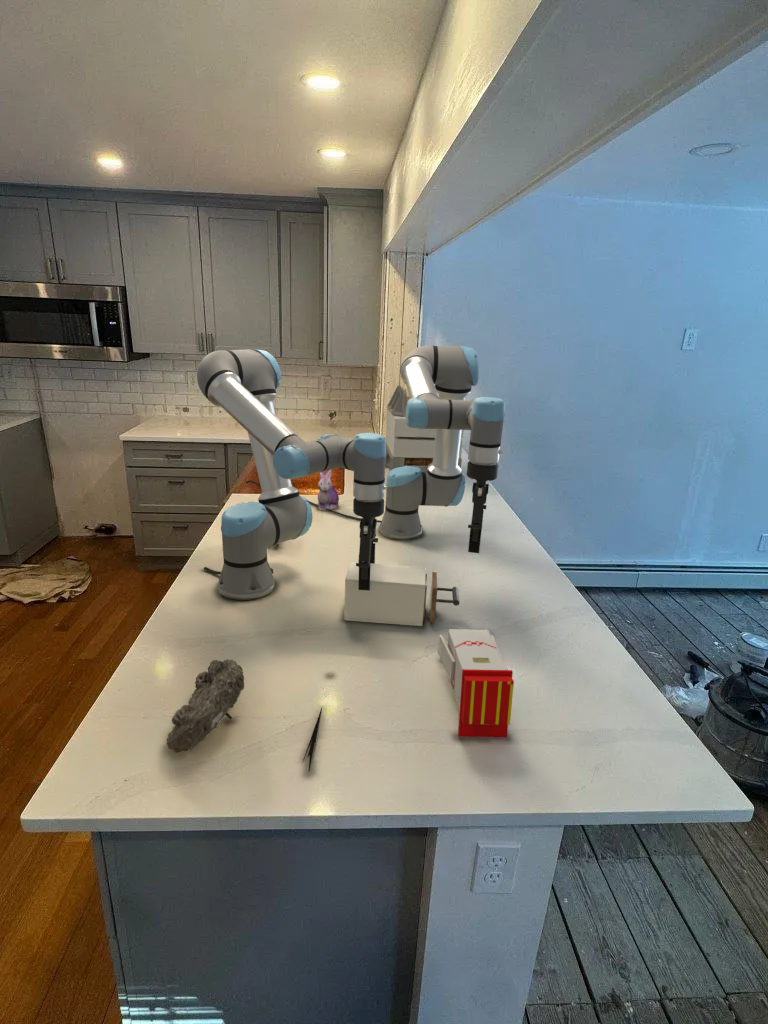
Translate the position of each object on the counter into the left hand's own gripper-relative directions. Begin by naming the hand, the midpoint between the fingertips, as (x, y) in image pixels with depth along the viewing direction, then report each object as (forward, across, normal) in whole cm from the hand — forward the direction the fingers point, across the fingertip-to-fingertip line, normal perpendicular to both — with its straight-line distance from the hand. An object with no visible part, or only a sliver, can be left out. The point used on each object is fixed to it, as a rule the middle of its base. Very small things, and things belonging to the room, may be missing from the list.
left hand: (366, 577), depth 144 cm
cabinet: (+10, 0, -5) cm, 11 cm away
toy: (+11, -30, -25) cm, 40 cm away
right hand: (-9, +6, -27) cm, 29 cm away
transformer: (+9, +136, -12) cm, 137 cm away
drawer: (+9, 0, -11) cm, 15 cm away
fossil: (+10, -43, +25) cm, 51 cm away
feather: (+10, -42, +5) cm, 43 cm away
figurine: (+9, +79, +23) cm, 83 cm away
